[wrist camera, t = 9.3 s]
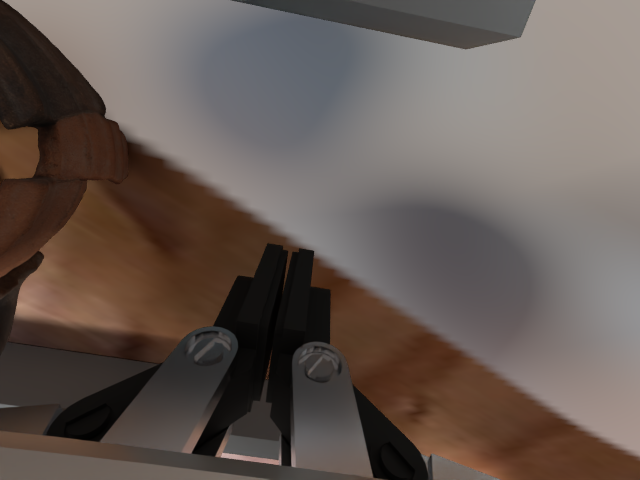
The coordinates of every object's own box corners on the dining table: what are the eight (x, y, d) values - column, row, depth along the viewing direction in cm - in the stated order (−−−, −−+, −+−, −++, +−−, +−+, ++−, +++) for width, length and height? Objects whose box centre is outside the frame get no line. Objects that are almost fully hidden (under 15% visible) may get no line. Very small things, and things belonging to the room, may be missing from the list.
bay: (487, -14, 9) (598, -80, 5) (344, 409, 17) (347, 494, 14) (-369, -203, 7) (-1011, -461, 4) (-58, 351, 16) (-167, 428, 13)
